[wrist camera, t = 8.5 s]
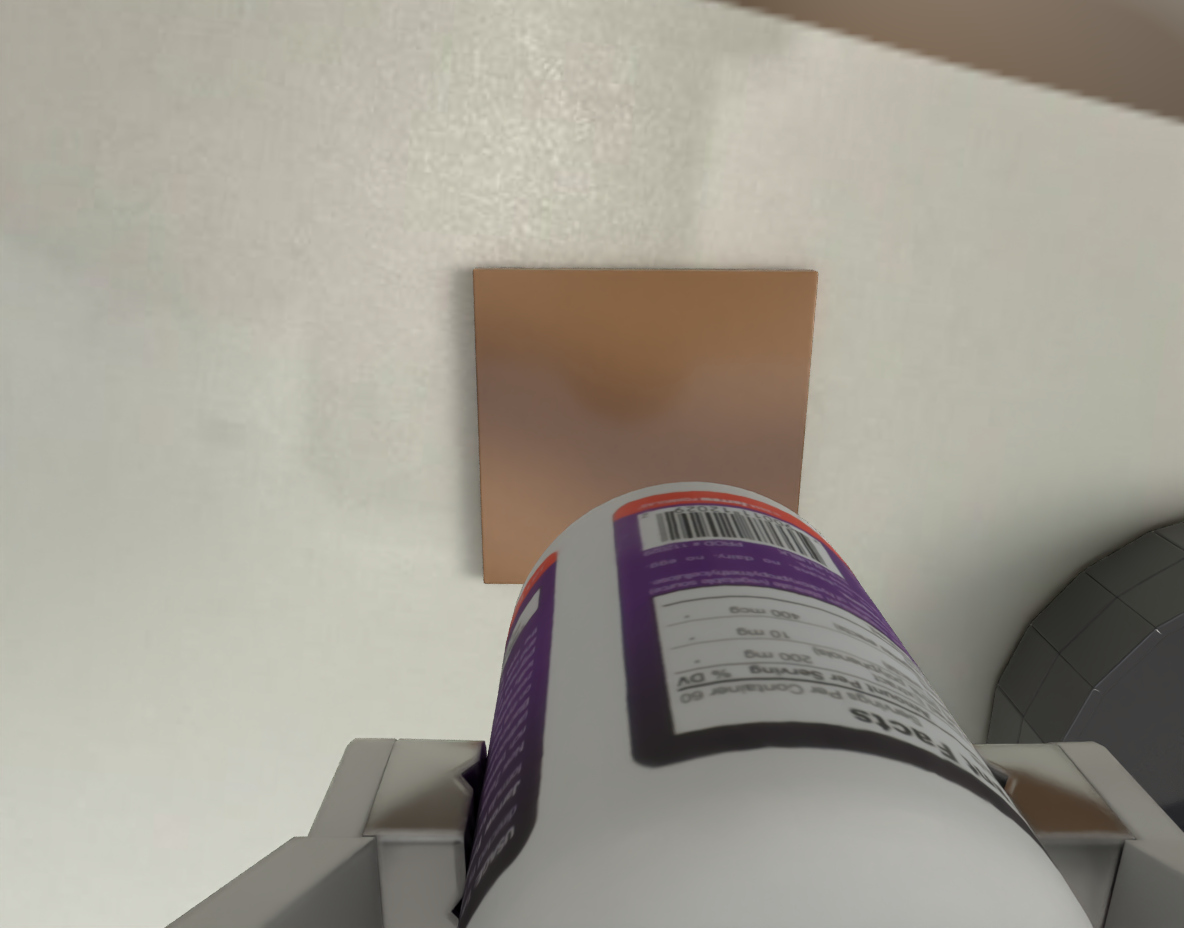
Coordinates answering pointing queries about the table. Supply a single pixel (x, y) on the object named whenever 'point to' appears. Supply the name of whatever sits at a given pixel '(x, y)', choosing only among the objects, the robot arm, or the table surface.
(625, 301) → the copper plate
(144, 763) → the table surface
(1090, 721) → the pan
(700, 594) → the pill bottle
